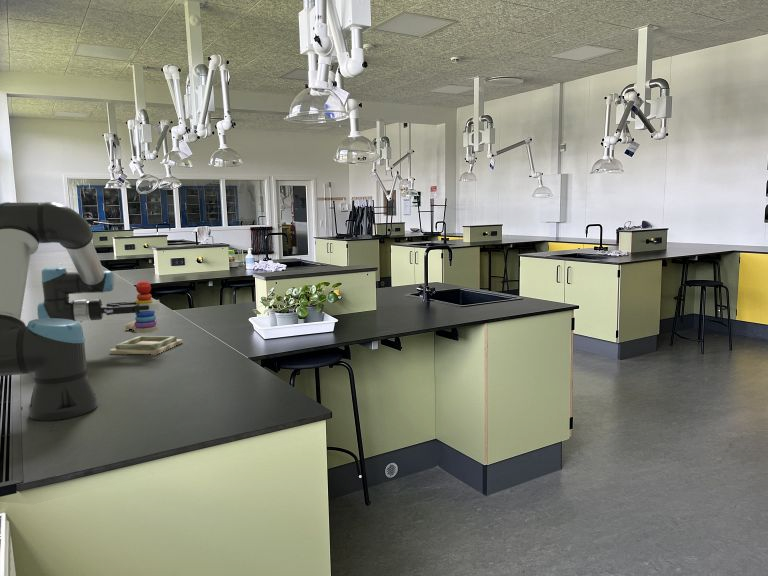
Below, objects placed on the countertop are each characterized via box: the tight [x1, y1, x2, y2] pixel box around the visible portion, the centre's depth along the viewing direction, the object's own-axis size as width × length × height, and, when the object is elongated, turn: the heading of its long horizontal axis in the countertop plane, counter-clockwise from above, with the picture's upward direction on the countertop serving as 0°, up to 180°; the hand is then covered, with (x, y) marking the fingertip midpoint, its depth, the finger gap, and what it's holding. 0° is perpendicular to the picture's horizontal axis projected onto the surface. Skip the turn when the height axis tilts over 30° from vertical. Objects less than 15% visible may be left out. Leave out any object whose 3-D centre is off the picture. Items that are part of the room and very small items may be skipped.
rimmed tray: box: [108, 335, 183, 356], centre depth 205 cm, size 18×18×3 cm
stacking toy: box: [133, 280, 159, 334], centre depth 203 cm, size 8×8×19 cm
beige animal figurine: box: [124, 318, 158, 331], centre depth 241 cm, size 8×12×10 cm
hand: (159, 304), depth 205 cm, fingers closed on stacking toy, 6 cm apart
